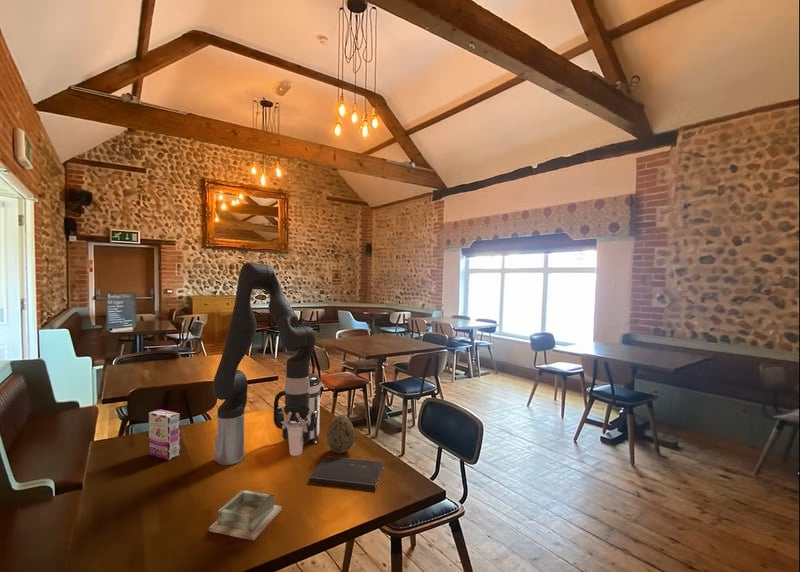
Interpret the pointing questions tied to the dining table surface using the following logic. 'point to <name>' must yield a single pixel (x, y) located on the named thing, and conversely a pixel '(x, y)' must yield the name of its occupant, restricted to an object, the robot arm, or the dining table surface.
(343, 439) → the decorative egg
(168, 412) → the candy bar box
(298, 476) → the dining table surface
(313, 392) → the coffee press
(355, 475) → the hardcover book
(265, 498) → the green glass shallow box
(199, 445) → the dining table surface
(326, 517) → the dining table surface
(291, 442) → the smoothie
